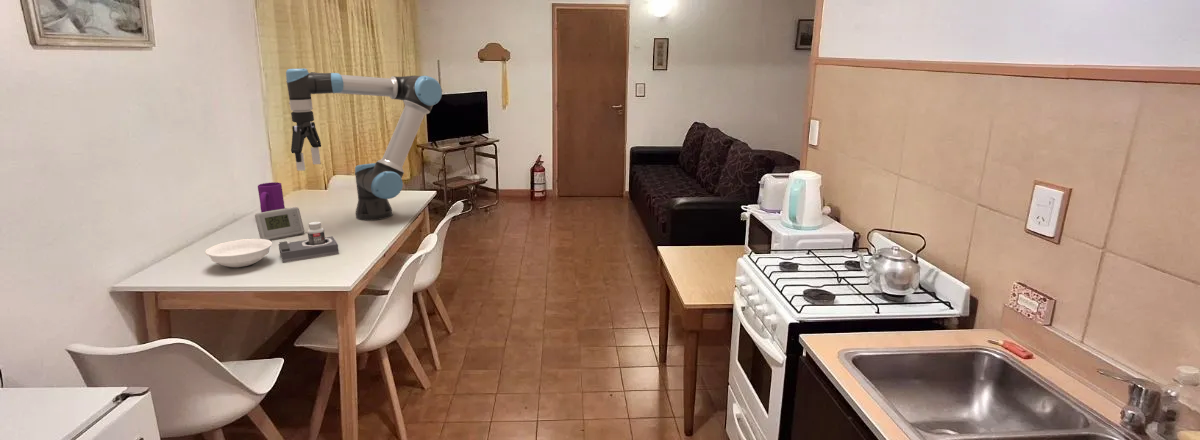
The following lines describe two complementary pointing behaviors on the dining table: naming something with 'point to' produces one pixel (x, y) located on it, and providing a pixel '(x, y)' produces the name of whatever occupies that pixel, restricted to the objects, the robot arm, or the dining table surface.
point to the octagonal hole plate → (307, 249)
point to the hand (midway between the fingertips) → (309, 167)
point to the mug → (271, 196)
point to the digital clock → (279, 223)
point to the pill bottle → (316, 234)
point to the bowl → (239, 252)
